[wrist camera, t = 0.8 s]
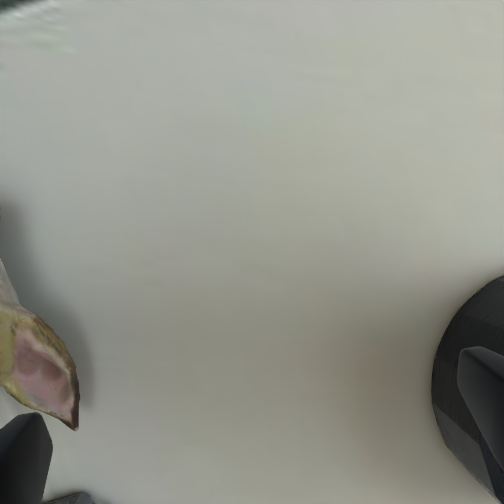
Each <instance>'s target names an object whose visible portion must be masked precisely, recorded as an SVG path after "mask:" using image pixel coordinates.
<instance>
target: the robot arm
mask: <svg viewBox="0 0 504 504" xmlns="http://www.w3.org/2000/svg"><path fill="white" fill-rule="evenodd" d="M457 382H458V387H459V390H460V392H461V394H462V396H463V398H464V400H465V402H466V404H467V406H468V407H469V409H470V411H471V413H472V415H473V417H474V419H475V421H476V423H477V425H478V427H479V429H480V431H481V432H482V434H483V436H484V438H485V440H486V442H487V444H488V446H489V448H490V449H491V451H492V453H493V455H494V457H495V458H496V460H497V461H498V463H499V465H500V466H501V468H502V469H503V471H504V356H502V355H500V354H497V353H495V352H493V351H490V350H488V349H486V348H483V347H472V348H465V349H463V350H461V352H460V355H459V364H458V376H457ZM52 452H53V444H52V440H51V437H50V435H49V432H48V429H47V427H46V424H45V422H44V419H43V417H42V415H41V414H40V413H37V412H34V413H28V414H21V415H18V416H16V417H15V418H14V419H13V420H11V421H10V422H9V423H8V424H6V425H5V426H4V427H3V428H2V429H0V504H41V502H42V498H43V493H44V489H45V484H46V480H47V475H48V471H49V466H50V461H51V457H52Z"/></svg>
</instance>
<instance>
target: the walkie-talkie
mask: <svg viewBox="0 0 504 504" xmlns="http://www.w3.org/2000/svg"><path fill="white" fill-rule="evenodd" d="M45 504H93V502H92V499H91V496H90V495H88V494H85V493H82V492H81V493H78V494H75V495H71V496H68V497H65V498H61V499H58V500H55V501H52V502H48V503H45Z"/></svg>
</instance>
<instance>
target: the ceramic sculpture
mask: <svg viewBox="0 0 504 504" xmlns="http://www.w3.org/2000/svg"><path fill="white" fill-rule="evenodd" d="M0 219H1V209H0ZM0 386H4V388H5V389H6V391H7V393H9V394H10V395H11V396H12V397H14V398H15V399H16V400H17V401H18V402H20V403H21V404H23V405H24V406H27V407H29V408H31V409H34V410H39V411H42V412H44V413H46V414H49V415H51V416H53V417H55V418H58V419H59V420H61V421H62V422H63V423H64V424H65V425H67V426H68V427H69V428H71V429H72V430H73V431H77V430H78V429H79V400H80V394H79V382H78V379H77V375H76V366H75V364H74V361H73V359H72V357H71V356H70V354H69V352H68V351H67V349H66V347H65V344H64V342H63V341H62V340H61V339H60V338H59V337H58V336H57V335H56V334H55V333H54V331H53V329H52V328H51V327H49V326H48V325H47V324H46V323H45V322H44V321H43V320H42V319H41V318H40V317H38V316H37V315H36V314H34V313H33V312H31V311H30V310H28V309H26V308H24V307H23V306H21V305H20V304H19V301H18V297H17V293H16V291H15V289H14V287H13V285H12V284H11V282H10V280H9V277H8V275H7V272H6V270H5V267H4V265H3V263H2V261H1V258H0Z"/></svg>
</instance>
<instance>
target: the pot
mask: <svg viewBox="0 0 504 504" xmlns="http://www.w3.org/2000/svg"><path fill="white" fill-rule="evenodd" d="M472 347H483V348H486V349H488V350H490V351H493V352H495V353H497V354H500V355H502V356H504V276H503V277H500V278H498V279H496V280H495V281H493V282H492V283H490V284H488V285H486V286H485V287H484V288H482V289H481V290H480V291H479V292H477V293H476V294H475V295H473V296H472V297H471V298H470V299H469V300H468V301H467V302H466V303H465V304H464V305H463V306H462V308H461V309H460V310H459V312H458V313H457V314H456V315H455V317H454V318H453V319H452V321H451V323H450V325H449V326H448V328H447V330H446V331H445V333H444V335H443V338H442V340H441V342H440V345H439V347H438V351H437V354H436V358H435V361H434V367H433V373H432V401H433V402H432V403H433V408H434V412H435V416H436V420H437V423H438V425H439V428H440V430H441V433H442V435H443V437H444V440H445V443H446V445H447V447H448V448H449V449H450V450H451V451H452V452H453V453H454V455H455V456H456V457H457V458H458V459H459V460H460V461H461V462H462V464H463V465H464V466H465V467H466V468H467V469H468V470H469V471H470V473H471V474H472V475H473V476H474V477H475V478H476V479H477V480H478V481H479V482H480V483H481V485H482V486H483V487H484V488H485V489H486V490H487V491H488V492H489V493H490V494H491V495H492V496H493V497H494V498H495V499H496V500H497V501H498V502H499V504H504V471H503V469H502V468H501V466H500V465H499V463H498V461H497V460H496V458H495V457H494V455H493V453H492V451H491V449H490V448H489V446H488V444H487V442H486V440H485V438H484V436H483V434H482V432H481V431H480V429H479V427H478V425H477V423H476V421H475V419H474V417H473V415H472V413H471V411H470V409H469V407H468V406H467V404H466V402H465V400H464V398H463V396H462V394H461V392H460V390H459V387H458V382H457V376H458V364H459V355H460V352H461V350H463V349H465V348H472Z"/></svg>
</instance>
